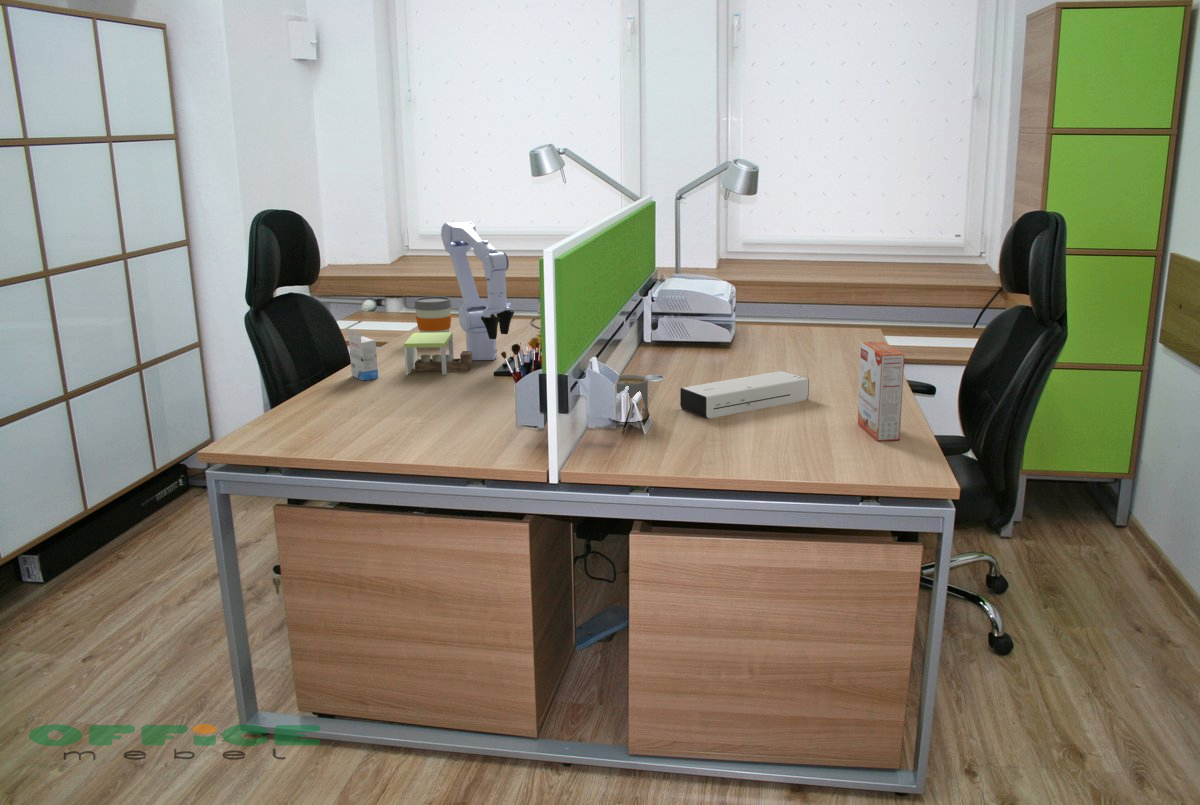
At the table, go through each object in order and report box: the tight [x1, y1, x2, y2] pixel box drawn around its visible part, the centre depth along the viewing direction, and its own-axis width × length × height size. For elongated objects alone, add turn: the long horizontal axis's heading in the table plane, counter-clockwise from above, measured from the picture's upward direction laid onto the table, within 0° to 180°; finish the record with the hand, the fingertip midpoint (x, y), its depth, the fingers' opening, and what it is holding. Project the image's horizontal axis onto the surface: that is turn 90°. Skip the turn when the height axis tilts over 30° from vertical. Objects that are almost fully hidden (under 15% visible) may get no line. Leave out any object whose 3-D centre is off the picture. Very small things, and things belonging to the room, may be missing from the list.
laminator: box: [679, 370, 810, 420], centre depth 268 cm, size 34×12×6 cm, turn 120°
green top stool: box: [403, 331, 455, 376], centre depth 311 cm, size 12×16×10 cm
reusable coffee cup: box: [414, 295, 453, 333], centre depth 348 cm, size 13×13×15 cm
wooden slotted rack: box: [414, 350, 474, 372], centre depth 312 cm, size 17×5×5 cm, turn 90°
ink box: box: [348, 328, 379, 381], centre depth 301 cm, size 8×5×15 cm, turn 39°
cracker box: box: [857, 341, 906, 442], centre depth 240 cm, size 14×6×21 cm, turn 5°
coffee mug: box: [617, 374, 649, 412], centre depth 256 cm, size 13×10×10 cm
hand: (498, 336), depth 312 cm, fingers open, 7 cm apart
